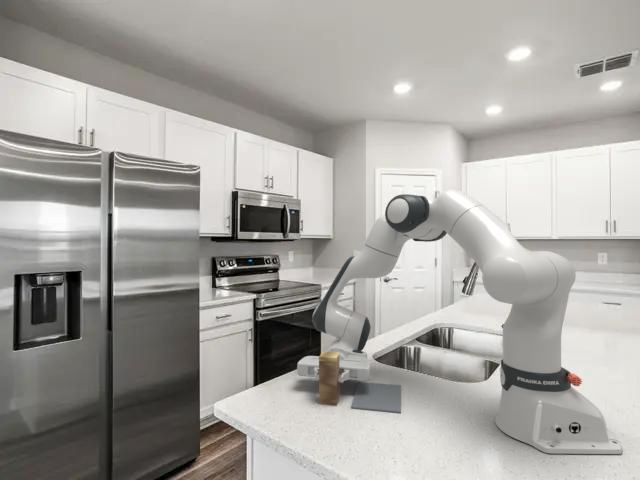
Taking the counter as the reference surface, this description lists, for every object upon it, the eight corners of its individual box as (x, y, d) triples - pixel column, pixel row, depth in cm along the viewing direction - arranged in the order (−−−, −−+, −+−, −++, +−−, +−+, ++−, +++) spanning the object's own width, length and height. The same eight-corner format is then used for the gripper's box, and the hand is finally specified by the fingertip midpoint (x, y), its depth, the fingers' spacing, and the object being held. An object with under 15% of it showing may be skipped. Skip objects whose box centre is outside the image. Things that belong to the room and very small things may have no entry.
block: (339, 398, 95) (339, 352, 95) (336, 405, 90) (336, 358, 90) (322, 396, 96) (322, 351, 96) (319, 404, 91) (318, 356, 91)
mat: (400, 386, 102) (400, 385, 102) (400, 413, 86) (400, 411, 86) (358, 383, 104) (358, 381, 104) (351, 408, 89) (351, 406, 89)
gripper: (303, 348, 108) (289, 363, 94) (372, 352, 103) (368, 369, 90) (304, 369, 108) (290, 387, 94) (372, 374, 103) (368, 394, 90)
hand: (328, 378), depth 92 cm, fingers closed on block, 4 cm apart
